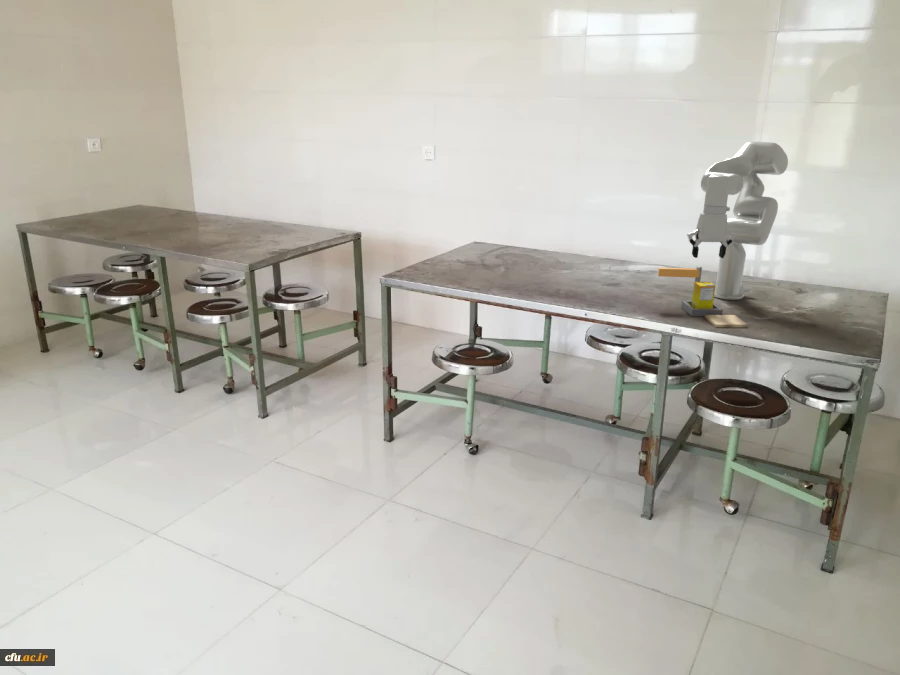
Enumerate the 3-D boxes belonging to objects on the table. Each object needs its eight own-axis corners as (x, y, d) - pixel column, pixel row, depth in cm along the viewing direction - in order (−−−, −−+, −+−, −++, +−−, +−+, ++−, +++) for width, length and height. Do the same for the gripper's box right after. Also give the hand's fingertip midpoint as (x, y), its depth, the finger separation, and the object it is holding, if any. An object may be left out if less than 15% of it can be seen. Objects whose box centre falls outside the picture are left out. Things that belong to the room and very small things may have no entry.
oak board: (734, 317, 248) (734, 314, 248) (746, 327, 238) (747, 324, 238) (704, 317, 248) (704, 314, 248) (715, 327, 238) (716, 324, 237)
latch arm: (696, 304, 263) (701, 266, 258) (697, 305, 261) (702, 267, 256) (654, 302, 265) (658, 265, 260) (655, 304, 263) (659, 266, 258)
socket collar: (710, 306, 261) (711, 300, 260) (722, 316, 250) (723, 309, 249) (681, 307, 261) (682, 300, 260) (691, 316, 250) (692, 309, 249)
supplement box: (705, 309, 258) (709, 281, 254) (712, 313, 253) (716, 285, 249) (690, 309, 258) (694, 281, 254) (696, 314, 252) (700, 285, 249)
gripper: (734, 209, 246) (727, 255, 252) (687, 208, 246) (681, 254, 251) (742, 212, 239) (735, 259, 244) (694, 211, 239) (688, 259, 244)
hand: (708, 257), depth 248 cm, fingers open, 9 cm apart
